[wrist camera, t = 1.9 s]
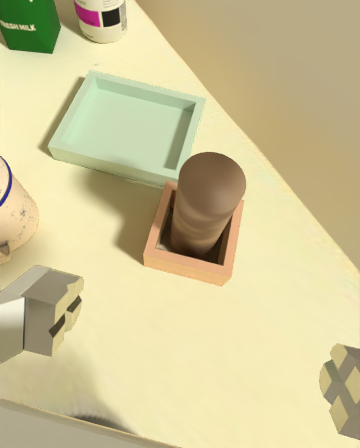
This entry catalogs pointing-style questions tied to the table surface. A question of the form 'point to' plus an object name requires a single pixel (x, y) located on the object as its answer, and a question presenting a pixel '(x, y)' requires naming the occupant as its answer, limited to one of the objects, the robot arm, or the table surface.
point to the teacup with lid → (14, 213)
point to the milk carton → (29, 24)
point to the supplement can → (102, 19)
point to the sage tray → (128, 129)
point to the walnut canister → (204, 202)
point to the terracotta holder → (189, 265)
